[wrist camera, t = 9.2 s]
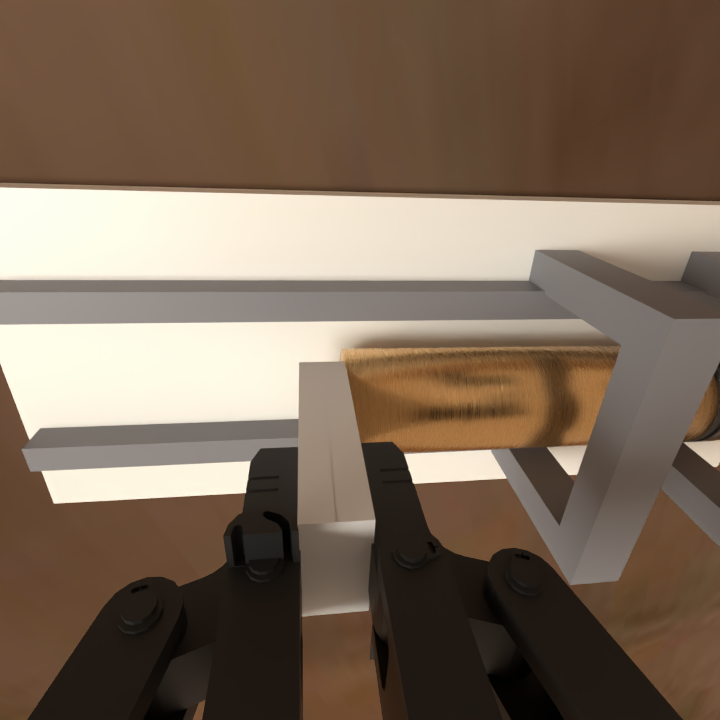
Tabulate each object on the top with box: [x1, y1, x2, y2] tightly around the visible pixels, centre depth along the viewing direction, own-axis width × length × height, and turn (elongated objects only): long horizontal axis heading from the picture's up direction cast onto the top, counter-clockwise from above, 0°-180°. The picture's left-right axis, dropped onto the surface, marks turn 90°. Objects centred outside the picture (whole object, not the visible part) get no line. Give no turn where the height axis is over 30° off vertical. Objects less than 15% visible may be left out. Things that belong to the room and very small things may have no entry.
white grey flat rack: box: [0, 183, 720, 585], centre depth 14 cm, size 30×12×8 cm, turn 88°
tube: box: [340, 346, 720, 453], centre depth 16 cm, size 16×4×4 cm, turn 88°
